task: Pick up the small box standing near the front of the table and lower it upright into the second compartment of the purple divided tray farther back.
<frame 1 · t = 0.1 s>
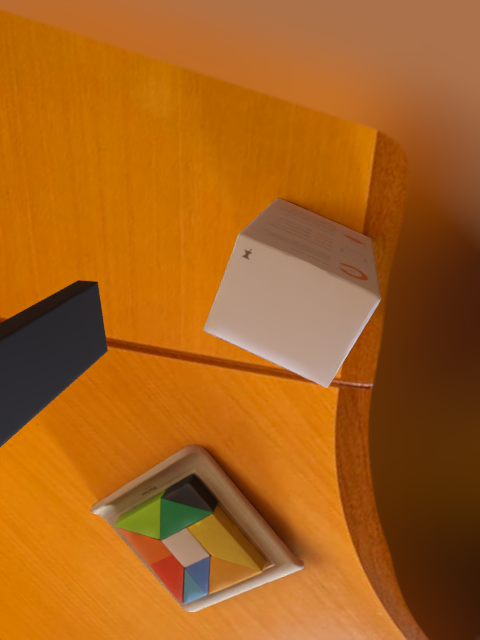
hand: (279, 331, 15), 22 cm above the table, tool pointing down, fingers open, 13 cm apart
small box: (308, 253, 36), on the table
wooden puzzle: (197, 526, 51), on the table
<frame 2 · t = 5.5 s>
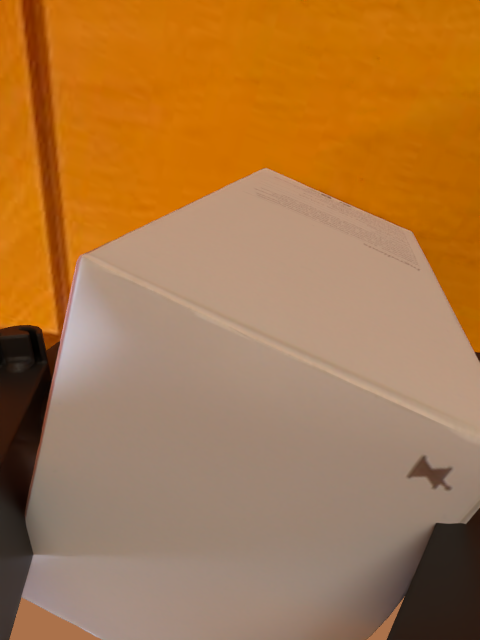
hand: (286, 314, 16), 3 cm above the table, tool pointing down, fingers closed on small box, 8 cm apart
small box: (296, 286, 19), on the table, touching gripper
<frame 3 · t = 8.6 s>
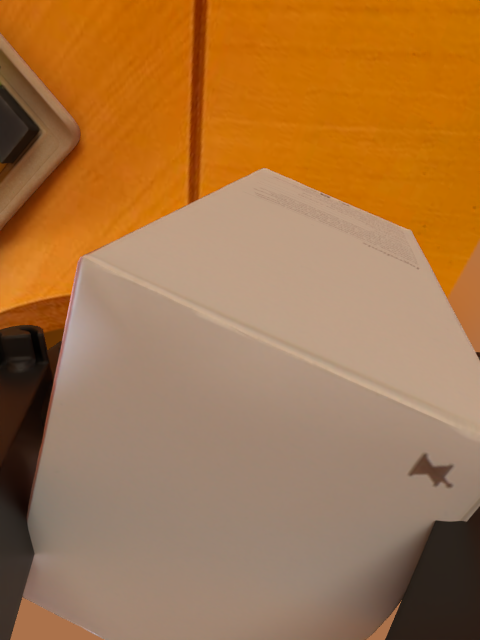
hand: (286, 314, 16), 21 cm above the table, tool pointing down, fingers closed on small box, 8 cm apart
small box: (296, 285, 19), point 18 cm above the table, touching gripper
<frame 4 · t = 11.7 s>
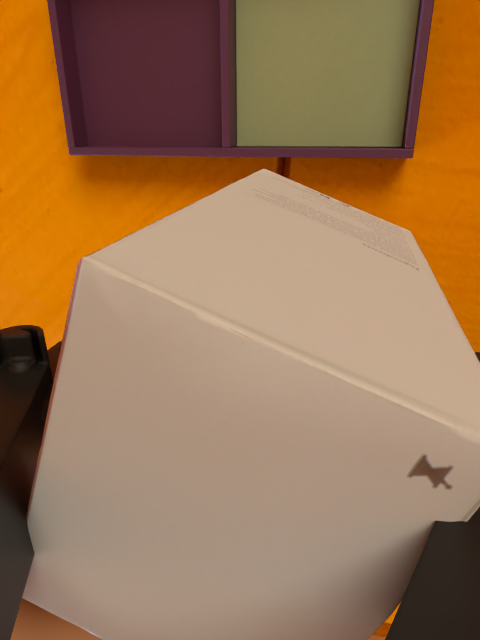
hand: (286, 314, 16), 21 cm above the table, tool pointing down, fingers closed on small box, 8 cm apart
purple divided tray: (234, 58, 33), on the table
small box: (295, 286, 19), point 18 cm above the table, touching gripper
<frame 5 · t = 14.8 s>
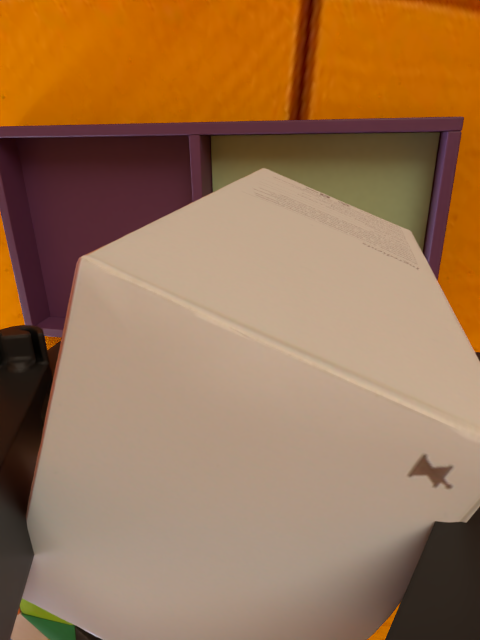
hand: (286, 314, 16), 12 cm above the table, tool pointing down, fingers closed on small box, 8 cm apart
purple divided tray: (212, 238, 28), on the table
small box: (295, 285, 19), point 8 cm above the table, touching gripper
wooden puzzle: (42, 605, 49), on the table
when the fingers open (4 cm above the table, at t = 17.9 s): small box stays where it is, resting on purple divided tray.
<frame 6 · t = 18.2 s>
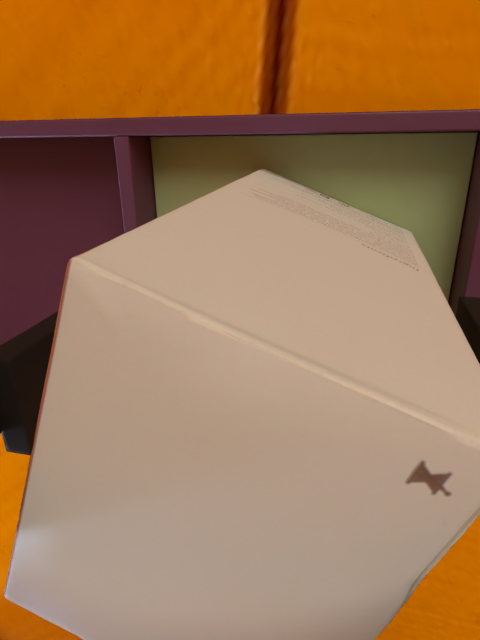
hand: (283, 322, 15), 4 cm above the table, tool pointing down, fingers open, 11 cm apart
purple divided tray: (162, 275, 21), on the table
small box: (295, 287, 19), point 1 cm above the table, touching purple divided tray
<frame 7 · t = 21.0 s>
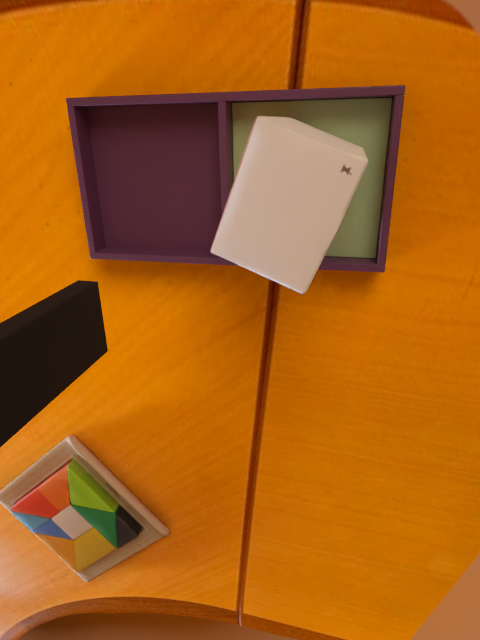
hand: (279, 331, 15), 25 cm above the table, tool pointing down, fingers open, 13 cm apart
purple divided tray: (232, 181, 38), on the table
small box: (305, 182, 36), point 1 cm above the table, touching purple divided tray
wooden puzzle: (84, 505, 59), on the table
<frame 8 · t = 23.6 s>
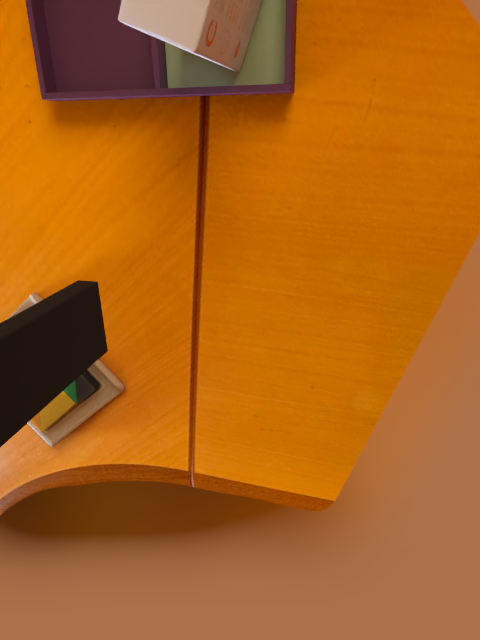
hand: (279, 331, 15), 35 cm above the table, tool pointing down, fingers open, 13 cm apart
purple divided tray: (162, 20, 43), on the table
small box: (223, 14, 41), point 1 cm above the table, touching purple divided tray
wooden puzzle: (49, 370, 64), on the table
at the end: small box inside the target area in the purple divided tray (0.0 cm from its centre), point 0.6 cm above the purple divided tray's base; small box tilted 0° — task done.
